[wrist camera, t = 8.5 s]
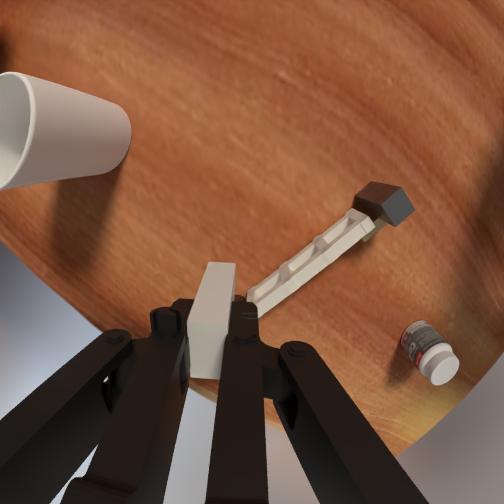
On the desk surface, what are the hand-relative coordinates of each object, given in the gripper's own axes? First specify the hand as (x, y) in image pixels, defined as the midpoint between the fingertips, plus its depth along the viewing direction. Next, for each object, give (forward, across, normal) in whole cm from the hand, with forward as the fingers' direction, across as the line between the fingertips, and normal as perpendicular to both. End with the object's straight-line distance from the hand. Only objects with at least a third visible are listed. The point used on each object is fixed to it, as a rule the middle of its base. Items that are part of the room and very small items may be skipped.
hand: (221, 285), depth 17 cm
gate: (+14, +7, -2) cm, 16 cm away
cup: (+15, -15, +10) cm, 23 cm away
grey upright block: (+14, +13, +3) cm, 19 cm away
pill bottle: (+14, +24, -12) cm, 30 cm away
